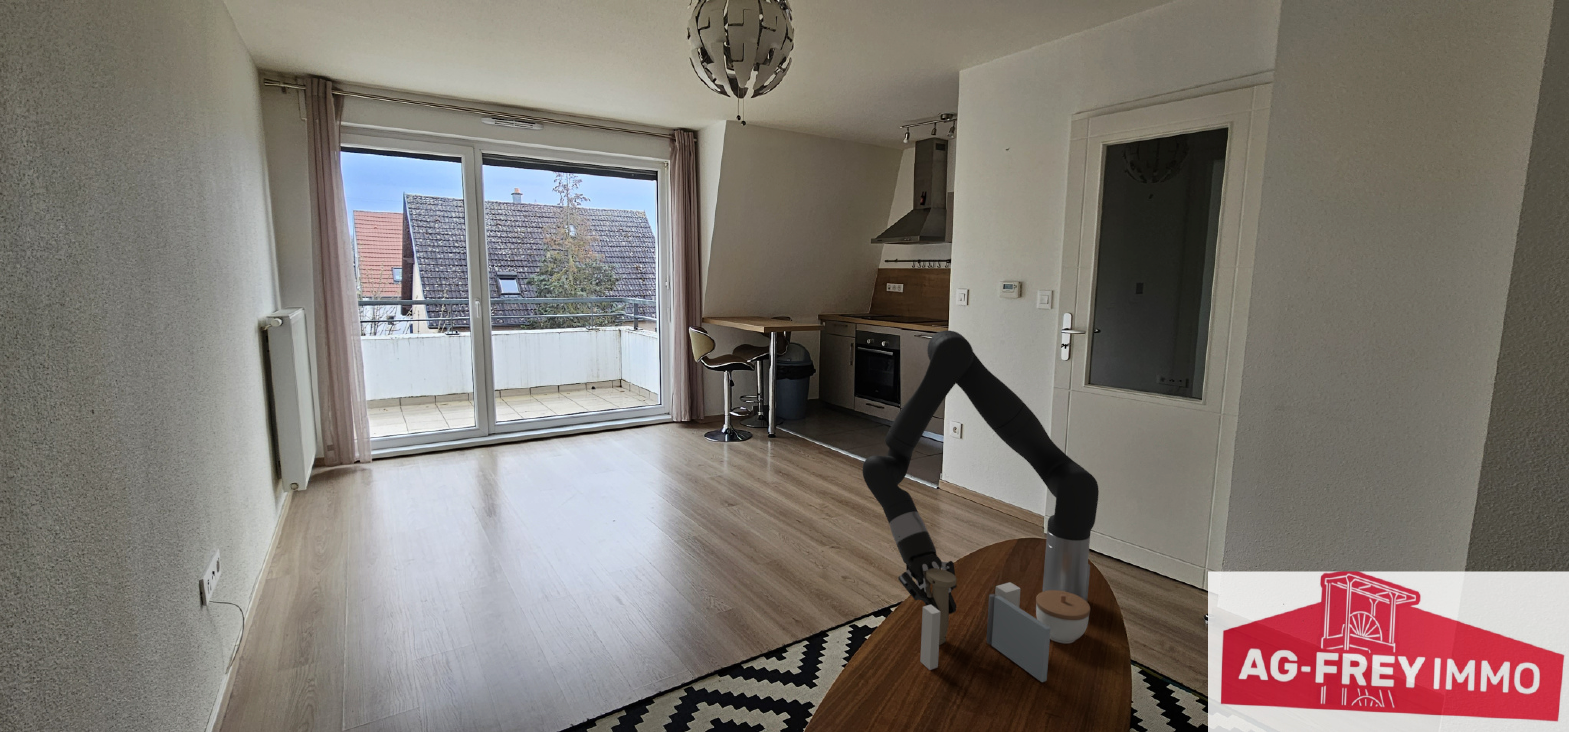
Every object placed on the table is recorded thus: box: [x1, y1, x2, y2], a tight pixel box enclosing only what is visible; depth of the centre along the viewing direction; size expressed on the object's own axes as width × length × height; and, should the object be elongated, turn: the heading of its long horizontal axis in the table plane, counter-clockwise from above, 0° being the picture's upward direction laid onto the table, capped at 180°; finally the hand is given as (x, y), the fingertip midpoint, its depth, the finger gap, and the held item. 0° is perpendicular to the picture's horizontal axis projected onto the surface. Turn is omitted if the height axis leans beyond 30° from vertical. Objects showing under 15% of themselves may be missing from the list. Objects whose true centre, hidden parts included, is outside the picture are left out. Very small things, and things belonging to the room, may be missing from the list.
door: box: [985, 593, 1051, 683], centre depth 135 cm, size 15×2×11 cm, turn 26°
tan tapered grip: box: [926, 568, 958, 646], centre depth 142 cm, size 5×6×15 cm
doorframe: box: [919, 581, 1021, 671], centre depth 139 cm, size 23×3×12 cm, turn 116°
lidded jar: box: [1035, 590, 1091, 645], centre depth 145 cm, size 11×11×9 cm
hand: (945, 614), depth 141 cm, fingers closed on tan tapered grip, 3 cm apart
